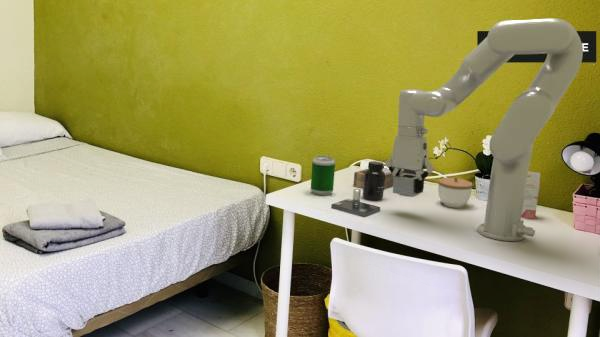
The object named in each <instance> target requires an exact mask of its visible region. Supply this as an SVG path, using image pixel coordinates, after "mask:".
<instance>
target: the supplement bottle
mask: <svg viewBox="0 0 600 337" xmlns="http://www.w3.org/2000/svg"><path fill="white" fill-rule="evenodd" d="M381 162H382V161H381ZM381 162H380V161H373V160H372V161H368V163H367V164H368V166H367V169H368V168H369V169H368V170H366V171H365V174H364V184H363V188H362V197H363V199H365V200H367V201H372V202H373V201H375V202H377V201H382V200H383V199H384V194H385V189H384V184H385V173H384V172H383V171H382V169H383V164H384V162H383V163H381Z"/></svg>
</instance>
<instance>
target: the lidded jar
mask: <svg viewBox="0 0 600 337" xmlns="http://www.w3.org/2000/svg"><path fill="white" fill-rule="evenodd" d="M437 189H438V190H437V191H438V196H439V197H438V198H439V199H440V201H441V202H442V203H443V206H446V207H449V208H454V209H455V208H456V209H457V208H458V209H459V208H462V207H463V206H464V205H465V204H466V203H468V201H469V199H470V198H471V194H472V189H473V183H472V182H471V181H469V180H467V179H463V178H459V177H458V176H454V177H443V178H440V179H438V188H437Z"/></svg>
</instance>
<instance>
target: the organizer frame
mask: <svg viewBox="0 0 600 337" xmlns="http://www.w3.org/2000/svg"><path fill="white" fill-rule="evenodd" d="M384 166H387V165H386V164H385V163H383V168H384ZM368 169H369V168H368V167H367V168H365V169H362V170H358V171H355V172H354V174H353V186H352V187H354V188H355V187H356V188H358V189H359V188H360V189H363V184H364V174H365V171H366V170H368ZM403 172H404V169H402V170H401V172H400V174H403ZM393 178H394V176H392V173H391V172H389V173H386V174H385V184H384V190H385V189H388V188H391V187H393Z"/></svg>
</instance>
